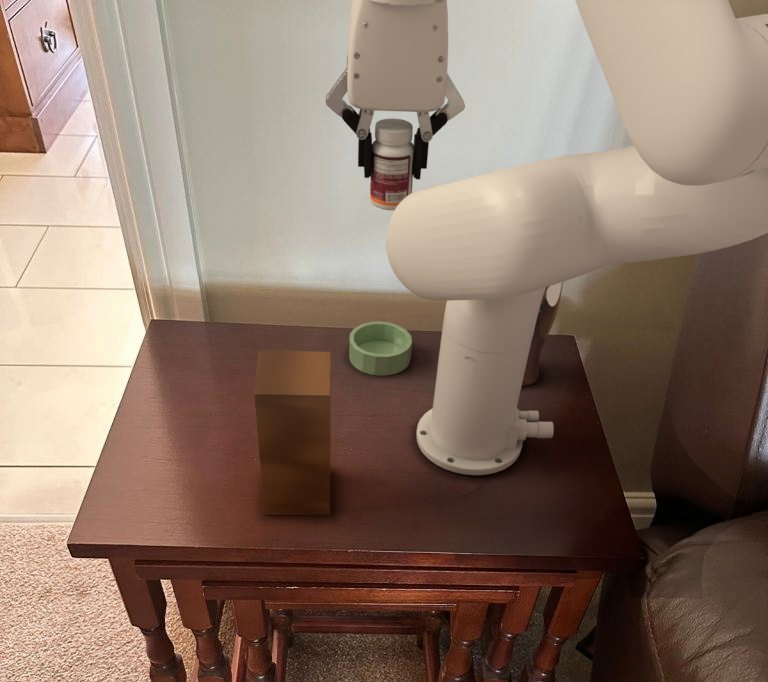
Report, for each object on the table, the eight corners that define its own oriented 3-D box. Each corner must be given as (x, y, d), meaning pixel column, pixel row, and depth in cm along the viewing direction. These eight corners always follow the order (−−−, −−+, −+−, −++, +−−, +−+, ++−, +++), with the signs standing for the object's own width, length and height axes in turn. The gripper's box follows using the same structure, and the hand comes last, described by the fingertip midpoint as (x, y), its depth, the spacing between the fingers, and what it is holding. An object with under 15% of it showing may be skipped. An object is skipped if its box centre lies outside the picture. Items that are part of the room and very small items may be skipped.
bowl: (408, 341, 107) (409, 322, 105) (412, 376, 102) (414, 357, 99) (348, 339, 107) (349, 320, 105) (349, 375, 101) (349, 355, 99)
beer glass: (540, 392, 100) (565, 288, 90) (486, 384, 101) (505, 279, 90) (543, 362, 105) (567, 259, 95) (492, 354, 106) (510, 251, 95)
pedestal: (330, 471, 88) (330, 351, 77) (329, 515, 83) (330, 394, 72) (268, 470, 88) (259, 350, 76) (264, 515, 83) (253, 393, 71)
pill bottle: (380, 190, 91) (383, 113, 85) (417, 199, 89) (423, 122, 83) (362, 205, 88) (363, 126, 82) (400, 215, 86) (404, 135, 80)
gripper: (485, -27, 77) (463, 163, 89) (312, -34, 75) (315, 158, 88) (496, -9, 71) (471, 190, 84) (310, -17, 70) (314, 185, 83)
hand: (391, 172), depth 86 cm, fingers closed on pill bottle, 4 cm apart
